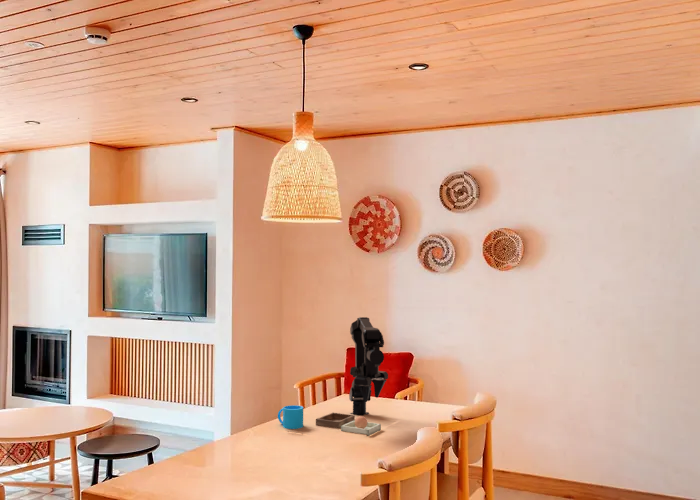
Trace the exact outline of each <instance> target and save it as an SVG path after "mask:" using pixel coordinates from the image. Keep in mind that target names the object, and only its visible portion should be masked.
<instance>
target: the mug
mask: <svg viewBox="0 0 700 500" xmlns="http://www.w3.org/2000/svg"><path fill="white" fill-rule="evenodd" d="M281 414H282V418H281ZM277 419H278V421H279V423H280V424H281V425H282V427H283V428H284V429H288V430H293V429H294V430H296V429H302V428H303V427H304V406H303V405H298V404H296V405H285V406H283V407H282V408H281V409H280V410H279V411H278V412H277Z"/></svg>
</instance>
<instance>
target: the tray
mask: <svg viewBox="0 0 700 500" xmlns="http://www.w3.org/2000/svg"><path fill="white" fill-rule="evenodd" d="M381 431H382V425H381V423H377V422H369V421H367V426H366V427H365V428H364V429H362V428H357V427H356V426H355V420H354V421H352V422H349V423H347V424H345V425H342V426H341V428H340V432H345V433H346V432H347V433H352V434H353V433H354V434H359V435H366V437H370V436H372V435H373V434H376V433H378V432H381Z"/></svg>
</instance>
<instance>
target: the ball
mask: <svg viewBox="0 0 700 500" xmlns="http://www.w3.org/2000/svg"><path fill="white" fill-rule="evenodd" d="M367 422H368V419H367V418H366V417H365V416H364V415H358V416H356V417H355V426H356V427H357V428H362V429H364V428H365V427H366V426H367Z"/></svg>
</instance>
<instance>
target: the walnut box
mask: <svg viewBox="0 0 700 500" xmlns="http://www.w3.org/2000/svg"><path fill="white" fill-rule="evenodd" d="M355 419H356V416H355V415H354V414H345V413H340V412H339V413H338V412H331V413H328V414H326V415H325V414H324V415H322V416H320V417H317V418H316V419H315V426H320V427H326V428H333V429H341V426H342V425H345V424H347V423H349V422H352V421H354V420H355Z"/></svg>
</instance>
